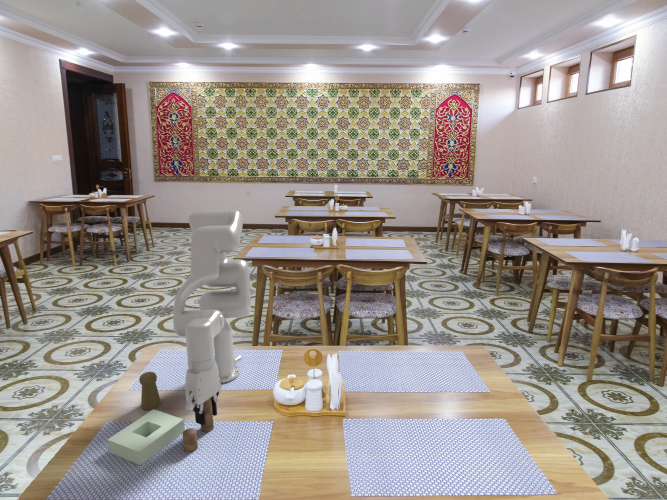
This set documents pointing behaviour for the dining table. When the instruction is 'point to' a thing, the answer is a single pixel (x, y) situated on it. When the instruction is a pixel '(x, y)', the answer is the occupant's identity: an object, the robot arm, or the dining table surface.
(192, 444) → the short peg
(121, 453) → the hole block
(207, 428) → the long peg
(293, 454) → the dining table surface
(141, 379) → the olive brown pawn
